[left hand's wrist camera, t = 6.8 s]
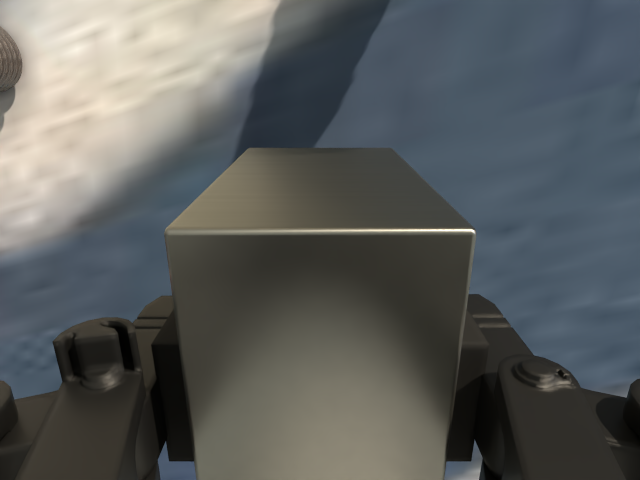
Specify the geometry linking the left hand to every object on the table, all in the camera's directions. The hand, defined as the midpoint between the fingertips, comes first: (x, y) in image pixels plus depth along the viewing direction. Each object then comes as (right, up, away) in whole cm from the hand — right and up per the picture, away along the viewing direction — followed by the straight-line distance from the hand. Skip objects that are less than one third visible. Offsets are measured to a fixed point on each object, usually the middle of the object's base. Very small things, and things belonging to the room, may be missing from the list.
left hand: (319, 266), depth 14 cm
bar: (0, -8, +4) cm, 8 cm away
